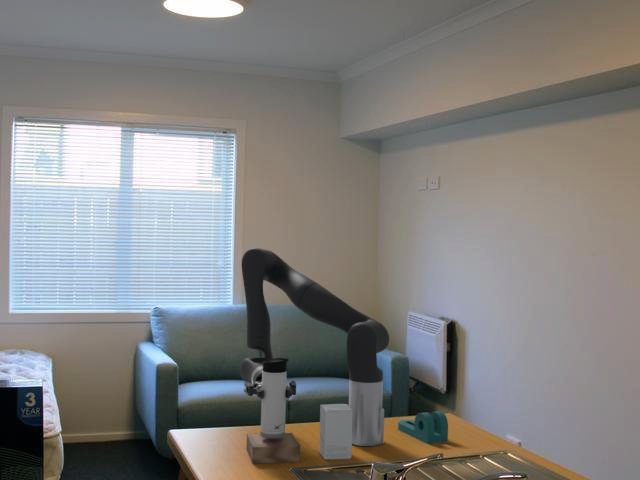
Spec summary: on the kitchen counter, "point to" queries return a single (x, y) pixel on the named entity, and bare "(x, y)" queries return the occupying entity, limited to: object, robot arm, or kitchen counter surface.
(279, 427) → the travel mug
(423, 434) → the bracket
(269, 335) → the robot arm
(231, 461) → the kitchen counter surface
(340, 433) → the supplement box
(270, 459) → the walnut plinth
